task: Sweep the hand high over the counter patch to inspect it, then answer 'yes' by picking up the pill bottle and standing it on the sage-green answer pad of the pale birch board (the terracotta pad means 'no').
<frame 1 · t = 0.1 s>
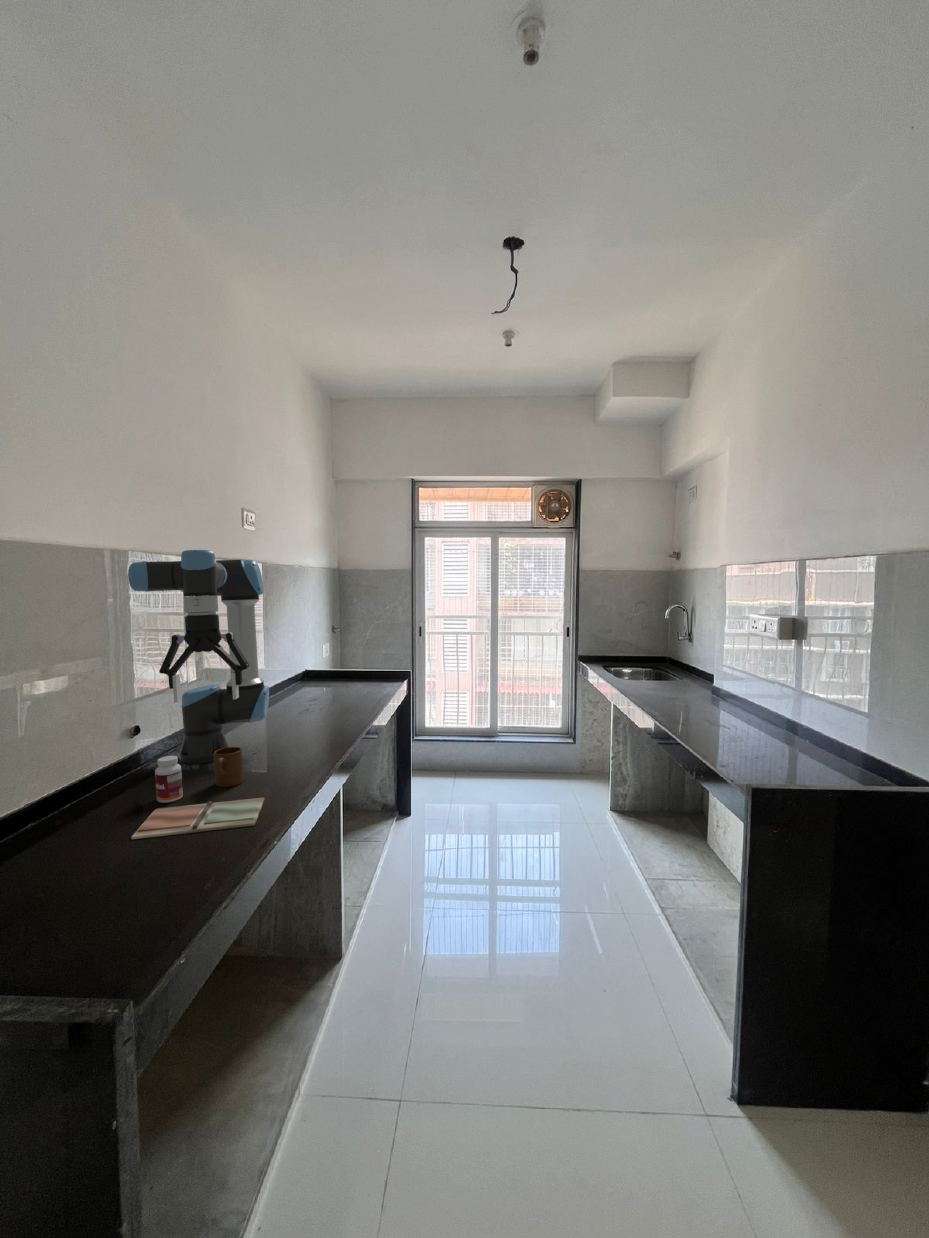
hand: (207, 700, 137), 28 cm above the worktop, fingers open, 13 cm apart
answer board: (203, 817, 134), on the worktop
pill bottle: (170, 799, 148), on the worktop
mug: (227, 786, 156), on the worktop
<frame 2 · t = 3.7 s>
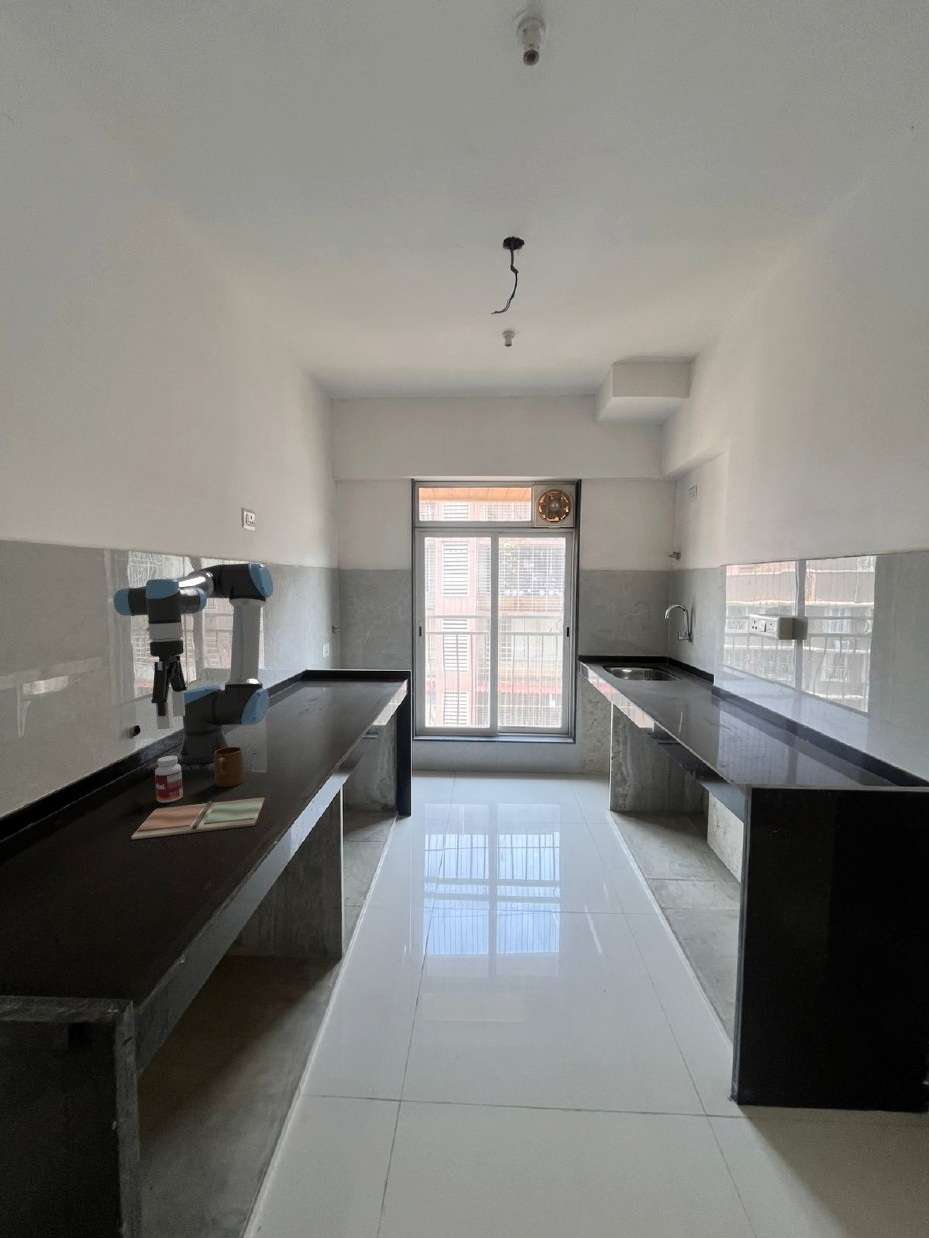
hand: (172, 722, 143), 21 cm above the worktop, fingers open, 13 cm apart
nothing on the worktop moved.
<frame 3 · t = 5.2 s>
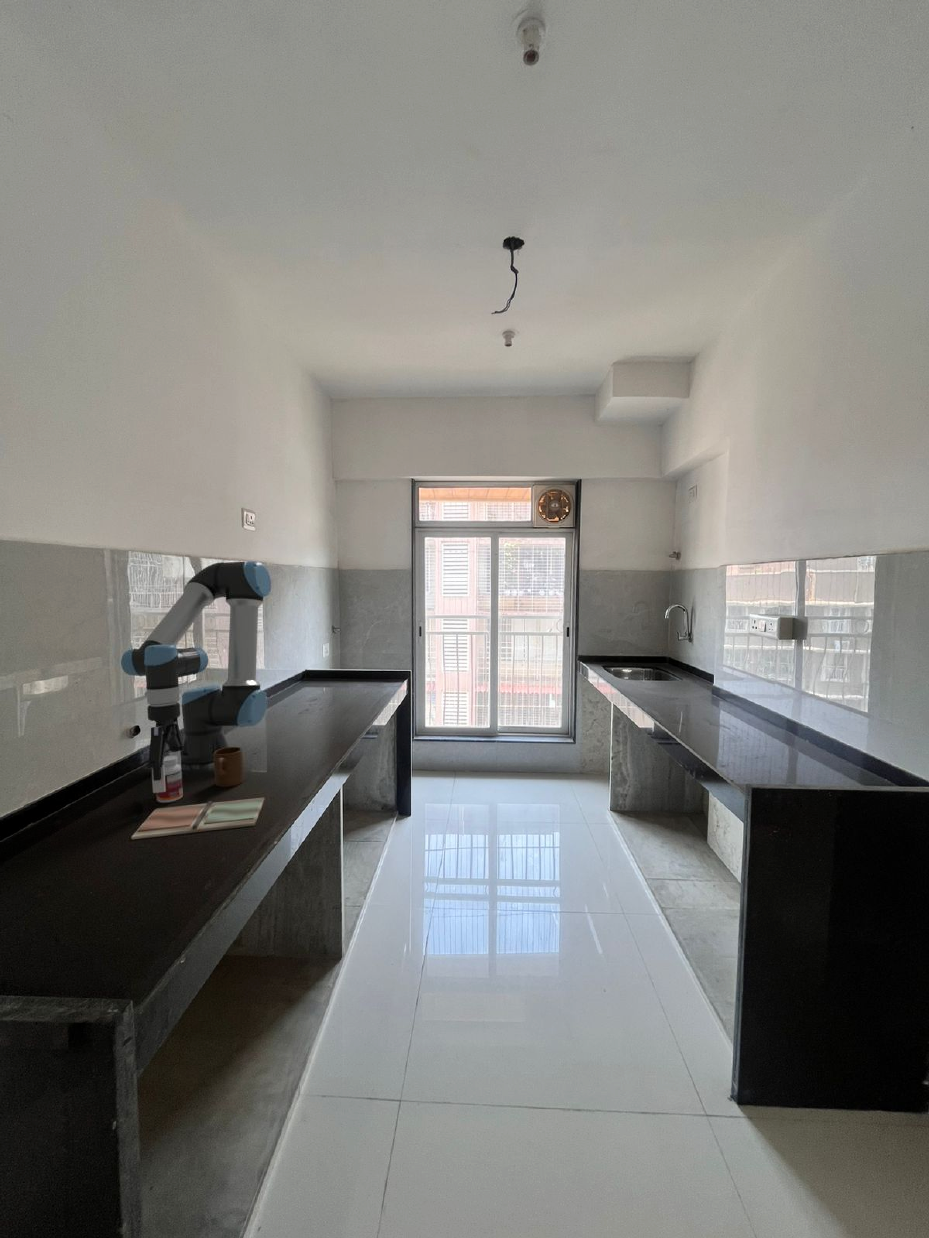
hand: (167, 783, 147), 4 cm above the worktop, fingers open, 13 cm apart
nothing on the worktop moved.
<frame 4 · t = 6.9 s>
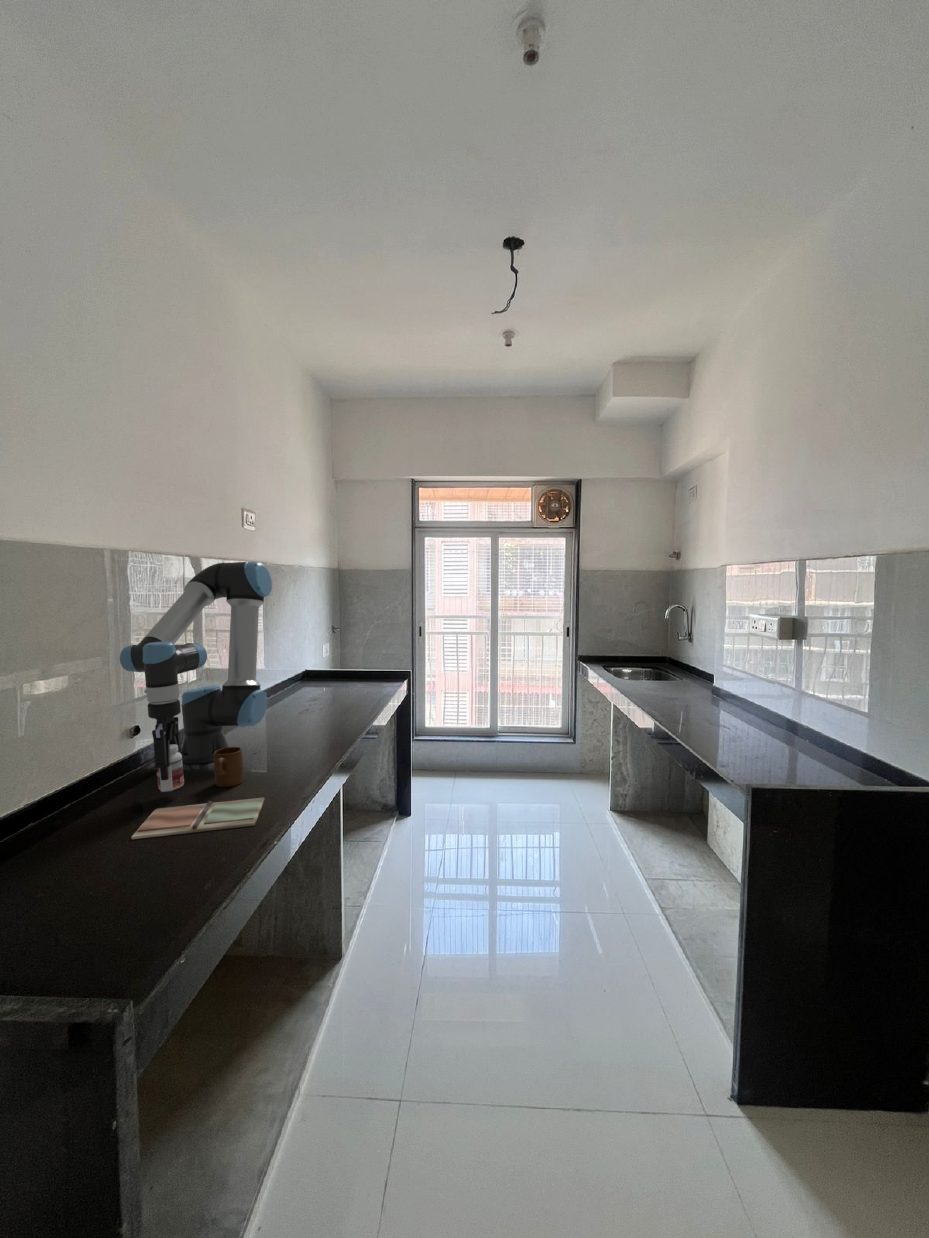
hand: (171, 785, 148), 3 cm above the worktop, fingers closed on pill bottle, 6 cm apart
pill bottle: (171, 787, 148), point 3 cm above the worktop, touching gripper
everything else where it was.
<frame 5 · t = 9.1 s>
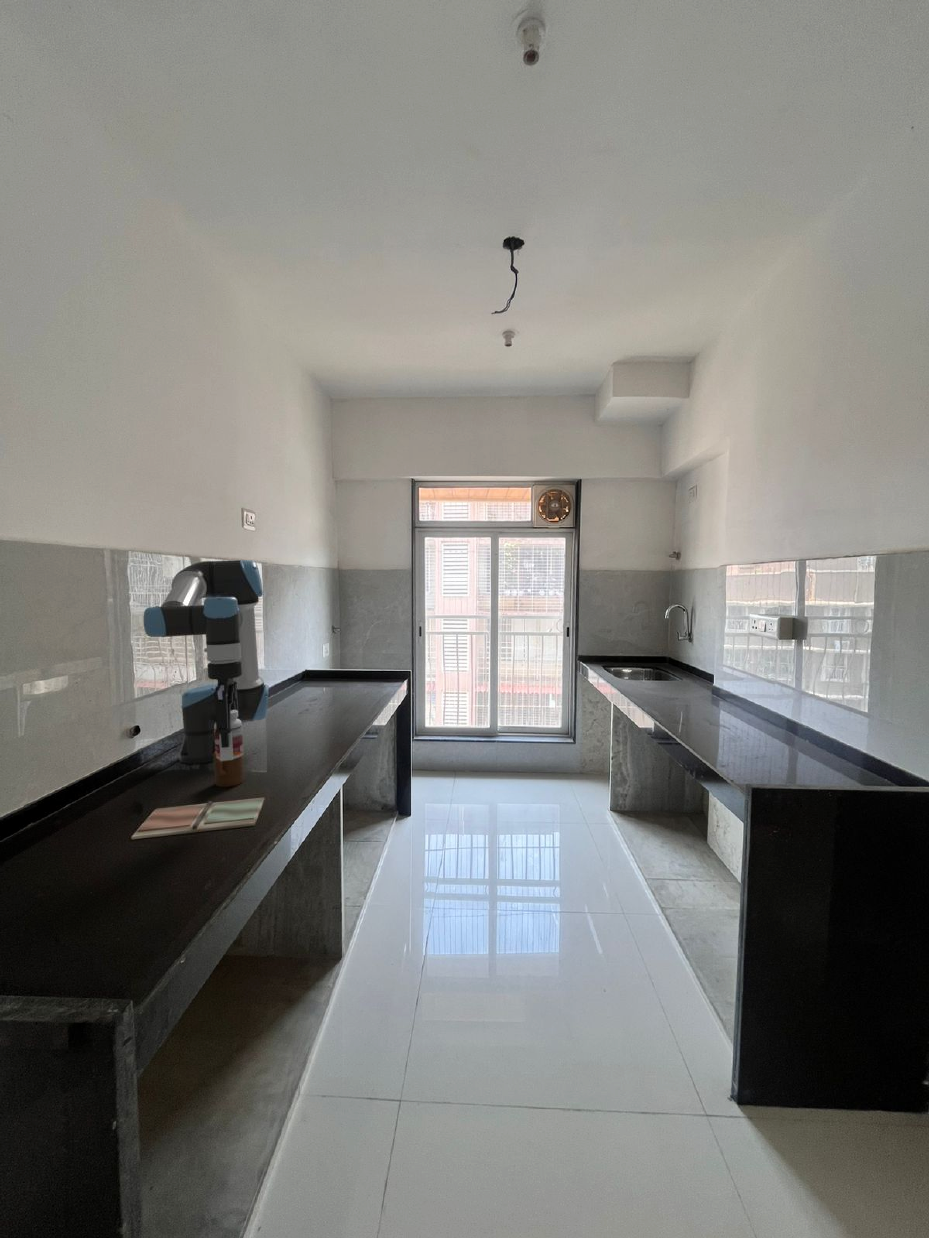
hand: (230, 755, 135), 15 cm above the worktop, fingers closed on pill bottle, 6 cm apart
pill bottle: (230, 757, 135), point 14 cm above the worktop, touching gripper
everything else where it was.
when the fingers open (2 cm above the worktop, at t = 11.6 s): pill bottle drops 1 cm, resting on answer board.
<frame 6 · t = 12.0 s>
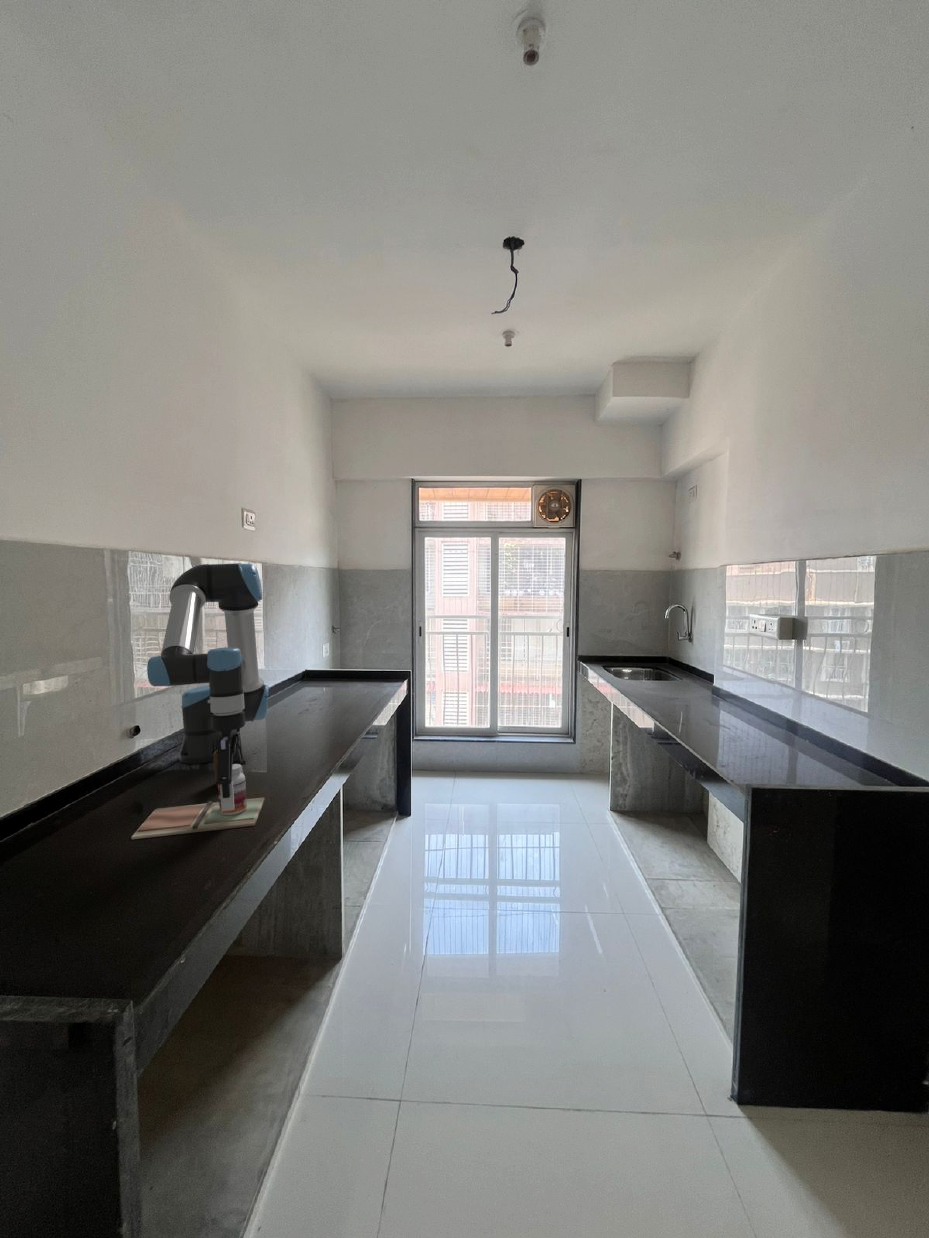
hand: (233, 800, 136), 3 cm above the worktop, fingers open, 11 cm apart
pill bottle: (233, 811, 136), point 1 cm above the worktop, touching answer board
everything else where it was.
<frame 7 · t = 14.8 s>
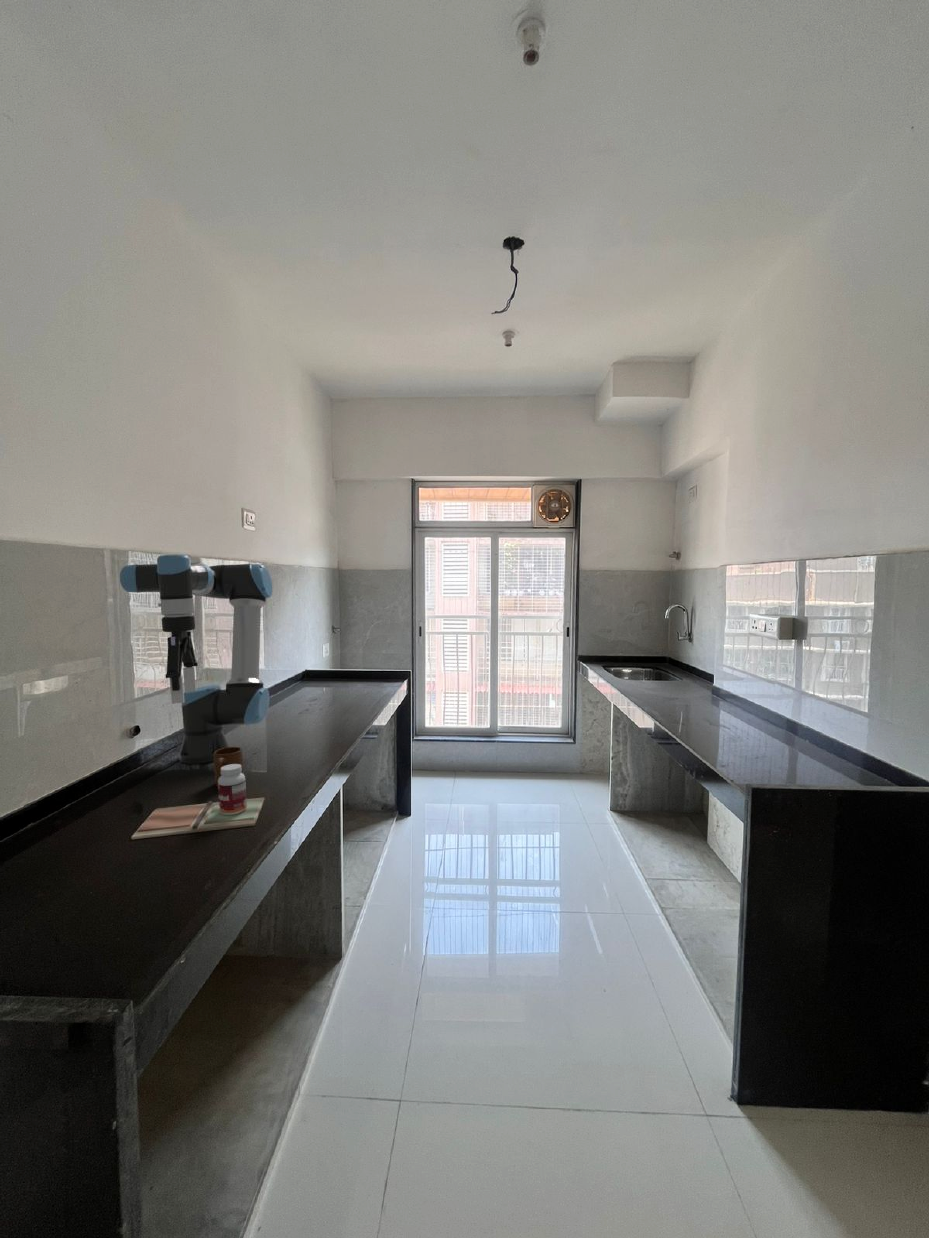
hand: (184, 696, 144), 28 cm above the worktop, fingers open, 13 cm apart
nothing on the worktop moved.
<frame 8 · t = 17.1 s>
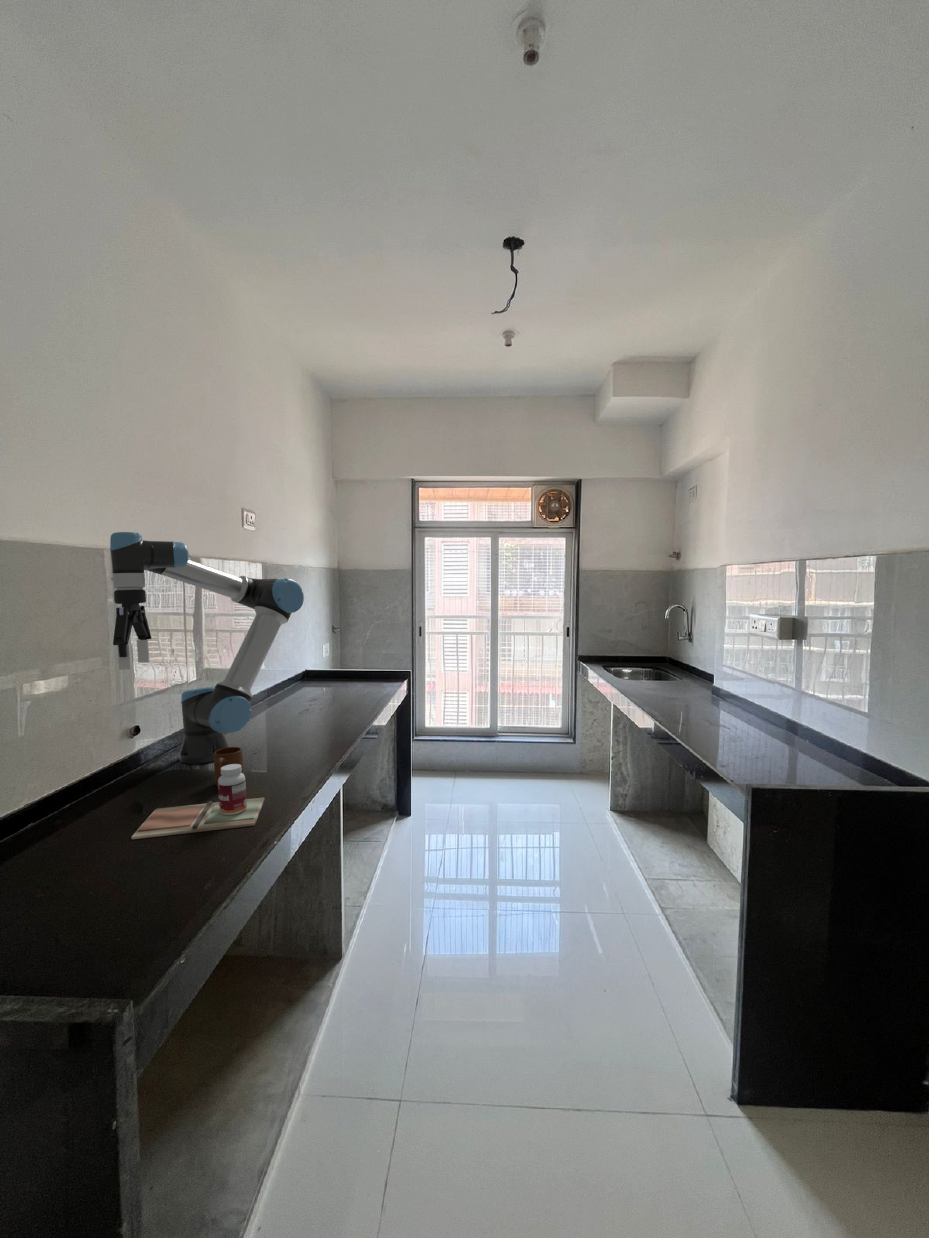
hand: (135, 665, 154), 35 cm above the worktop, fingers open, 13 cm apart
nothing on the worktop moved.
at the end: pill bottle inside the target area on the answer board (0.4 cm from its centre), point 0.7 cm above the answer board's base; pill bottle tilted 0°; the gripper is holding nothing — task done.
